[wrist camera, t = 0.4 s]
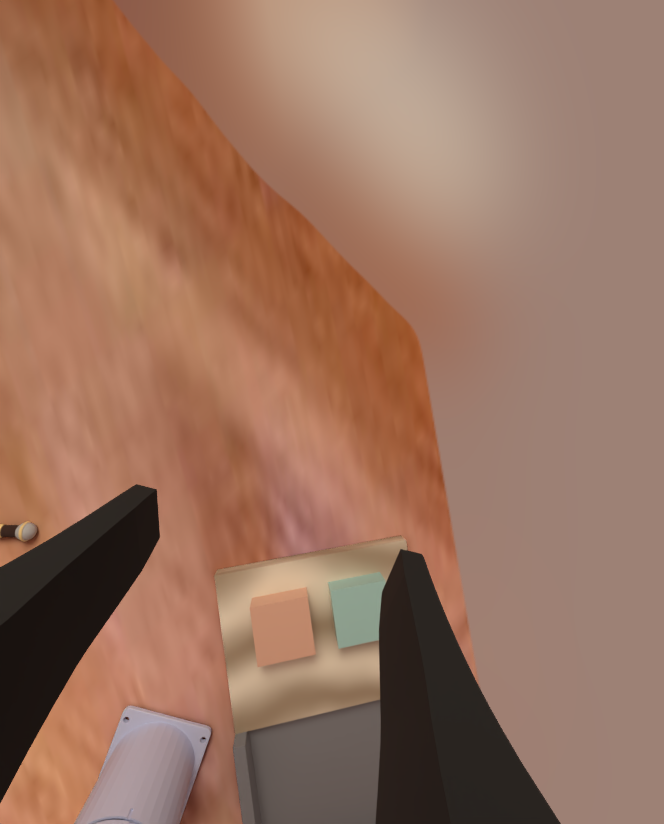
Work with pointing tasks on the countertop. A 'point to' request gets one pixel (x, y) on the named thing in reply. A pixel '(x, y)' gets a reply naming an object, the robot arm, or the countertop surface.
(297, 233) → the countertop surface
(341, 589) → the teal tile
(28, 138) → the countertop surface
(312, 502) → the countertop surface
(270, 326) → the countertop surface
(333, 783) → the tray
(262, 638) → the terracotta tile
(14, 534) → the frying pan
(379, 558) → the wooden plank
